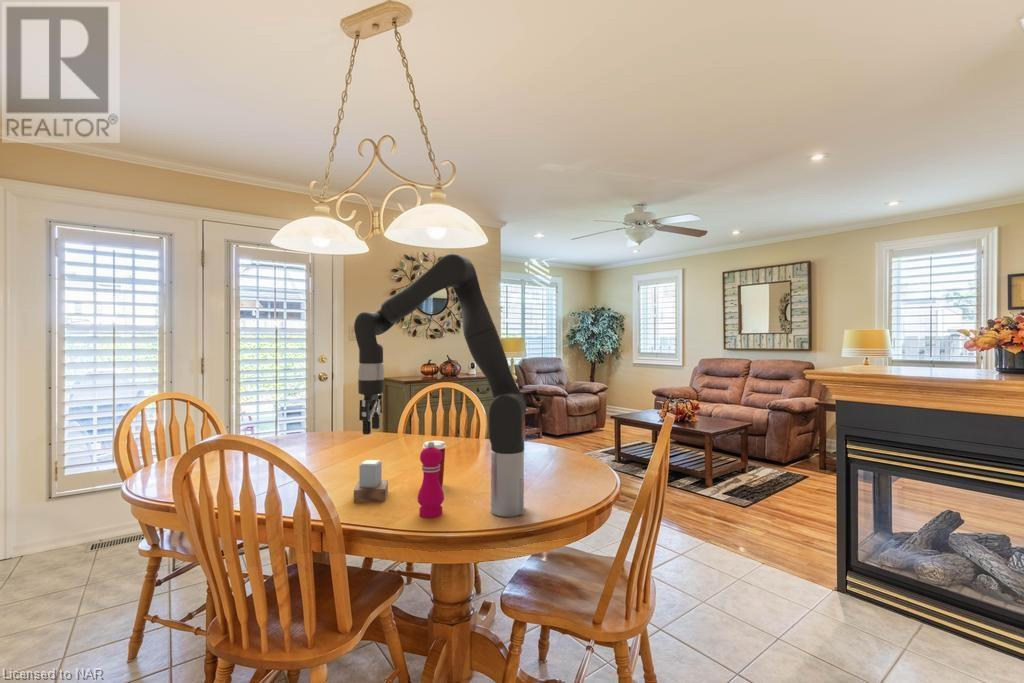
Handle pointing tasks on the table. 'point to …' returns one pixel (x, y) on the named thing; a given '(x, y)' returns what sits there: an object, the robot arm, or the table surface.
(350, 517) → the table surface
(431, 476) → the pepper mill
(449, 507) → the table surface
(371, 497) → the walnut block
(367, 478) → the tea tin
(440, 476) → the paper cup
